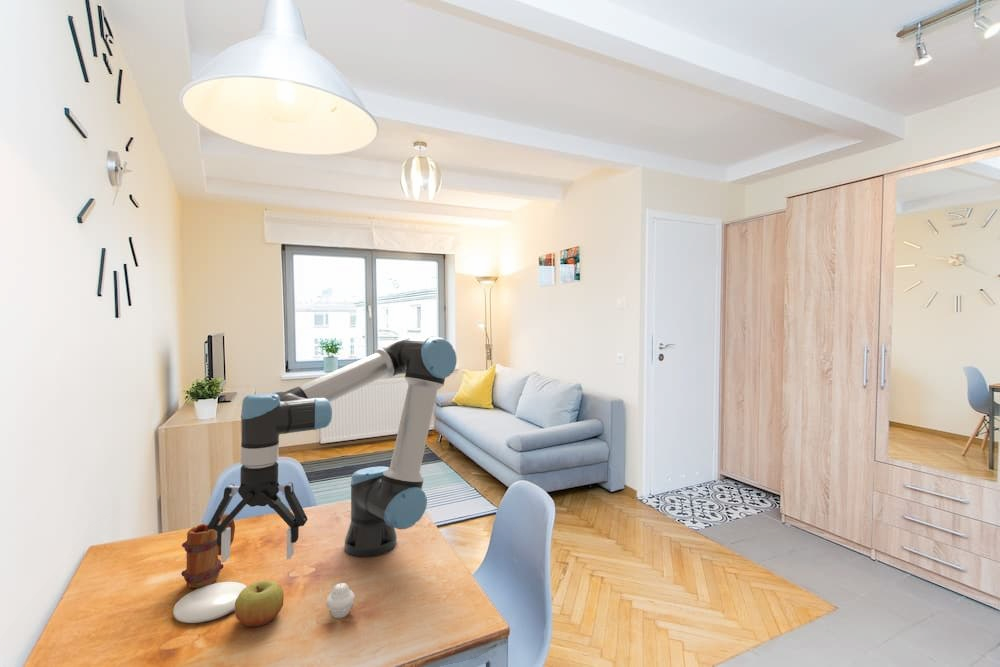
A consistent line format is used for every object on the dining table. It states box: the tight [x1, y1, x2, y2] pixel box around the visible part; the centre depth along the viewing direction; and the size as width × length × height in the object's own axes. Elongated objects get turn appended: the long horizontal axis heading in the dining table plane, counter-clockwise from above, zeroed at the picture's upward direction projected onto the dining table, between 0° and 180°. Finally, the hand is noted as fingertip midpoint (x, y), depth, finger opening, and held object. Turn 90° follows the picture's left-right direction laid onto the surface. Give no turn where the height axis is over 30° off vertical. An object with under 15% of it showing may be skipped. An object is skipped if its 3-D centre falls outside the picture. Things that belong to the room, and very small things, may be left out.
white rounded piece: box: [326, 582, 356, 619], centre depth 105 cm, size 6×6×7 cm
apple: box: [234, 580, 285, 628], centre depth 103 cm, size 10×10×8 cm
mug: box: [181, 513, 236, 589], centre depth 120 cm, size 15×8×15 cm, turn 168°
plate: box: [173, 581, 248, 624], centre depth 108 cm, size 15×15×1 cm
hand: (258, 557), depth 103 cm, fingers open, 13 cm apart
